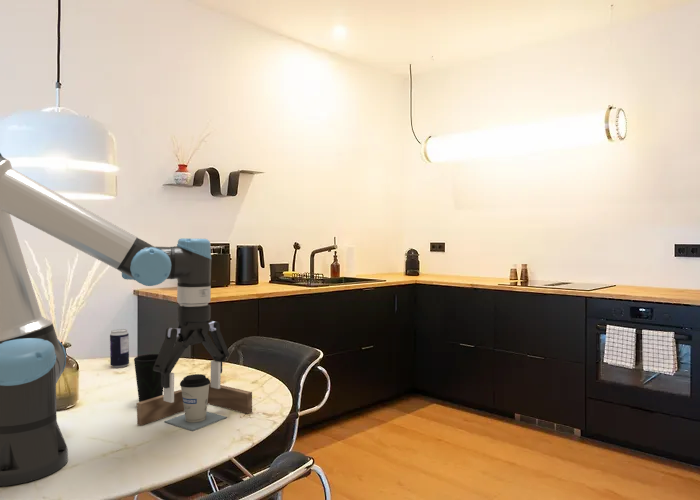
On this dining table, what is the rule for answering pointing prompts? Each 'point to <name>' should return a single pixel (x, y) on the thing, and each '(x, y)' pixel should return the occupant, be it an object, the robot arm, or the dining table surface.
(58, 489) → the dining table surface
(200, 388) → the coffee cup
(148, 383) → the cup
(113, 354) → the beverage can
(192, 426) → the pad
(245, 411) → the corner wall
